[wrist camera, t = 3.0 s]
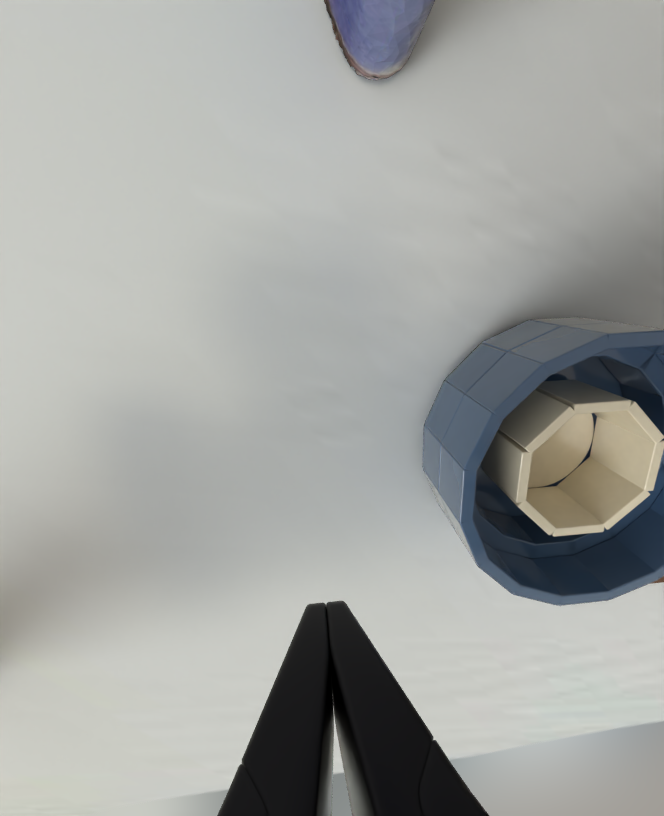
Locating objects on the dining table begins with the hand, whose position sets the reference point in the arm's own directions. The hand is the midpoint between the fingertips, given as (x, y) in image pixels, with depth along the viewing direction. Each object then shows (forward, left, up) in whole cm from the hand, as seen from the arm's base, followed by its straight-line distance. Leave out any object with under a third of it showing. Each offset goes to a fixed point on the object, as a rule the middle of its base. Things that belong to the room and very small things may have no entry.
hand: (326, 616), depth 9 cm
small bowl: (-10, 0, -9) cm, 13 cm away
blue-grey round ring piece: (-10, 0, -9) cm, 14 cm away
